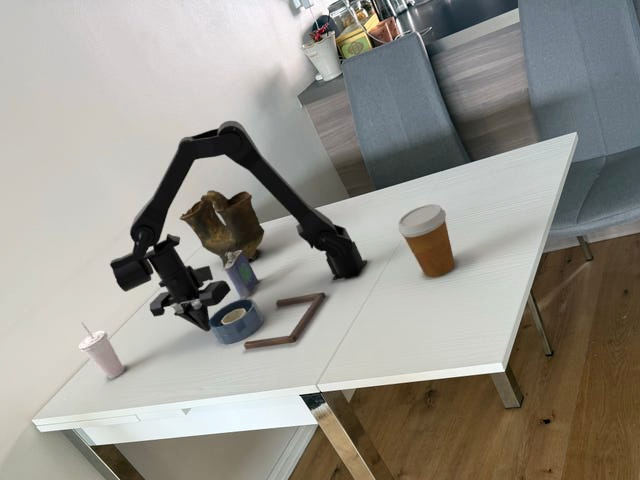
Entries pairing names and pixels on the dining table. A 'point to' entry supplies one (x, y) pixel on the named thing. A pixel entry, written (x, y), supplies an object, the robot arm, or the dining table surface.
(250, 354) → the dining table surface
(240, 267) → the flask
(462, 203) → the dining table surface
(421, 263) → the disposable coffee cup
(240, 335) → the blue-grey round ring piece
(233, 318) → the small bowl
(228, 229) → the pottery vessel
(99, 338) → the smoothie
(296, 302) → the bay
